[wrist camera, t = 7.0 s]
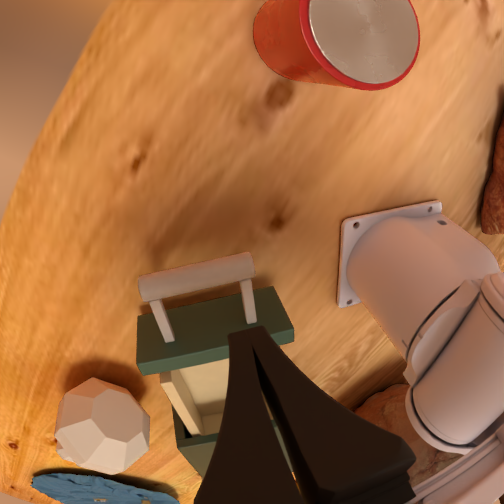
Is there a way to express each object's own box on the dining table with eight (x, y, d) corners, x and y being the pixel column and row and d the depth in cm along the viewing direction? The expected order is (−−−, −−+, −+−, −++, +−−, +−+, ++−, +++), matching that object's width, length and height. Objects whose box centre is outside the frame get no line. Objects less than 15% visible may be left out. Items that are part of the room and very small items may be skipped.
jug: (279, 422, 34) (364, 634, 10) (433, 319, 32) (571, 517, 7) (340, 449, 46) (403, 585, 22) (445, 379, 44) (529, 508, 19)
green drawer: (113, 257, 18) (103, 304, 14) (267, 223, 19) (292, 261, 16) (186, 413, 28) (193, 452, 24) (281, 391, 29) (295, 427, 26)
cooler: (170, 389, 27) (177, 448, 22) (283, 363, 28) (306, 417, 23) (205, 448, 35) (214, 490, 30) (286, 429, 36) (301, 469, 31)
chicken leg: (31, 419, 27) (51, 486, 23) (53, 365, 19) (84, 478, 14) (91, 415, 33) (113, 476, 29) (148, 362, 25) (184, 455, 21)
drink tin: (342, -6, 13) (416, -25, 8) (349, 80, 16) (425, 93, 11) (247, -9, 13) (292, -49, 7) (258, 85, 16) (308, 93, 10)
